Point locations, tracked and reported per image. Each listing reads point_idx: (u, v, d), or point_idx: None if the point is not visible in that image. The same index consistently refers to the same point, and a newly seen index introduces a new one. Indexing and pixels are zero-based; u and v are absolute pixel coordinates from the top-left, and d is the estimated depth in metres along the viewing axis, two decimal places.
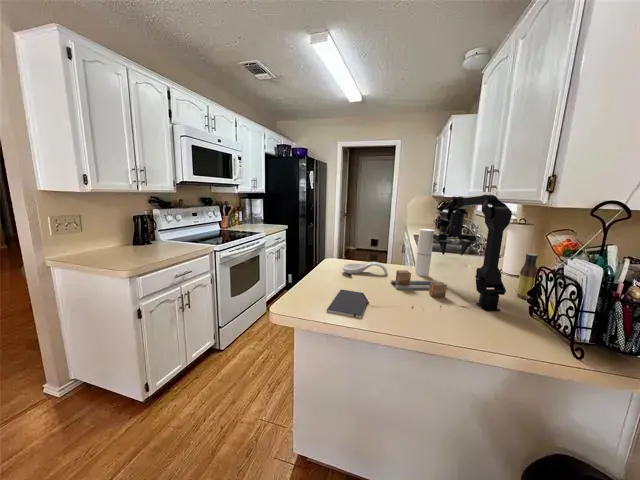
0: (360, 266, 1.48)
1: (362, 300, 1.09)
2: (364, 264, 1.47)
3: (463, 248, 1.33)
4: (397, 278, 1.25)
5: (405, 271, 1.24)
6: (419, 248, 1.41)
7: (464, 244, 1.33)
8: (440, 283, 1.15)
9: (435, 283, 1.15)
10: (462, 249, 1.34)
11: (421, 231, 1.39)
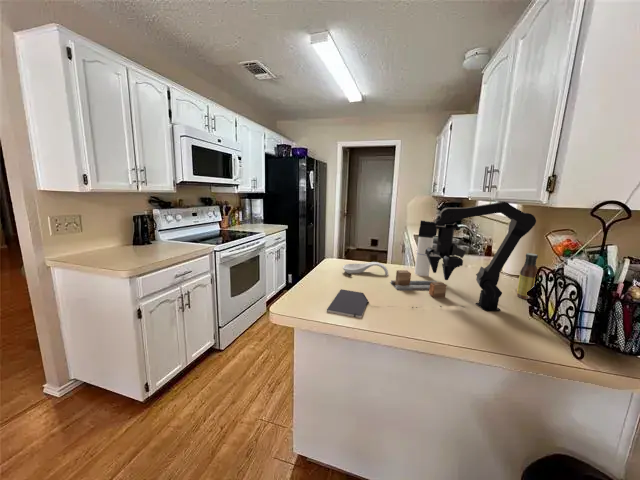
0: (361, 266, 1.48)
1: (362, 300, 1.09)
2: (365, 264, 1.47)
3: None
4: (397, 278, 1.25)
5: (405, 271, 1.24)
6: (419, 248, 1.41)
7: None
8: (440, 283, 1.15)
9: (435, 283, 1.15)
10: None
11: None
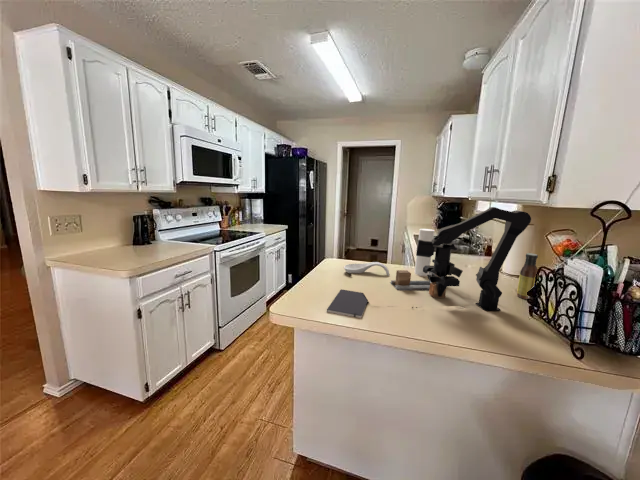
0: (362, 266, 1.48)
1: (362, 300, 1.09)
2: (366, 264, 1.47)
3: None
4: (397, 278, 1.25)
5: (405, 271, 1.24)
6: None
7: None
8: None
9: (435, 283, 1.15)
10: None
11: (421, 231, 1.39)
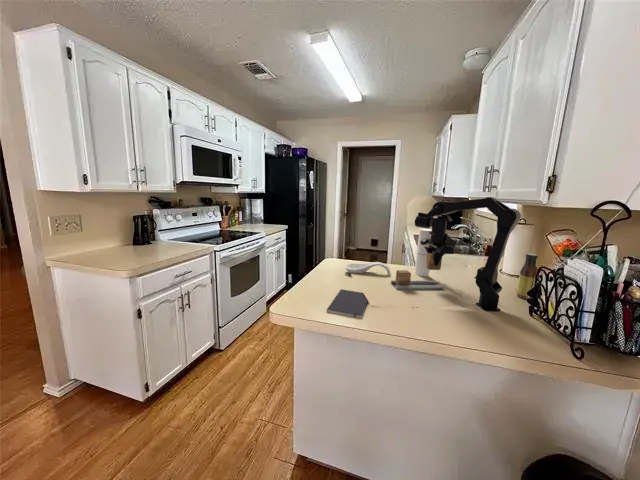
0: (363, 266, 1.48)
1: (362, 300, 1.09)
2: (367, 264, 1.47)
3: None
4: (397, 278, 1.25)
5: (405, 271, 1.24)
6: (419, 248, 1.41)
7: None
8: None
9: (432, 253, 1.23)
10: None
11: (421, 231, 1.39)
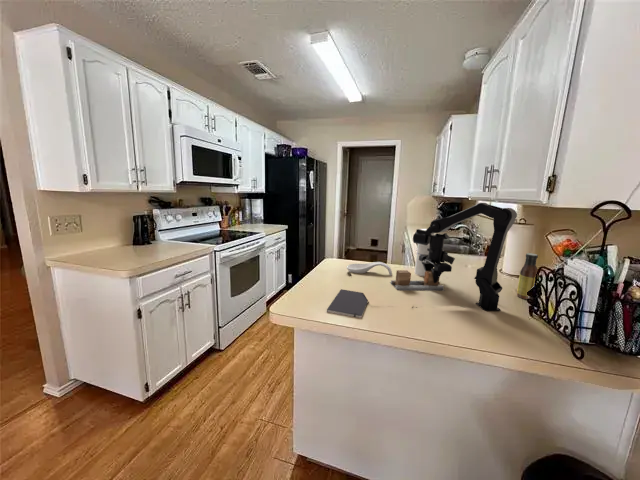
0: (365, 266, 1.49)
1: (362, 300, 1.09)
2: (369, 264, 1.47)
3: None
4: (397, 278, 1.25)
5: (405, 271, 1.24)
6: (419, 248, 1.41)
7: None
8: None
9: (429, 271, 1.25)
10: None
11: None
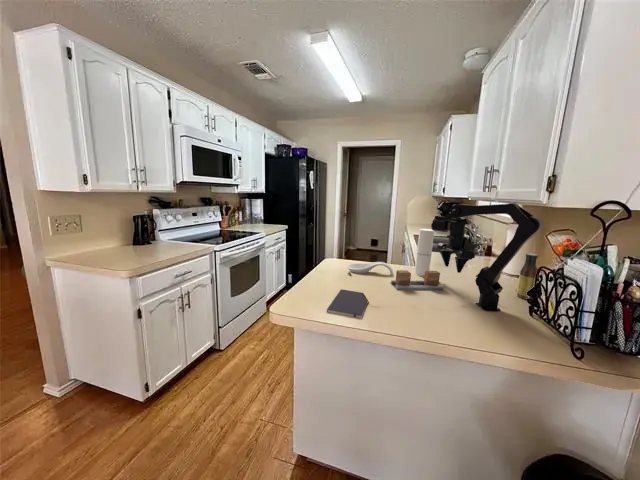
0: (366, 266, 1.49)
1: (362, 300, 1.09)
2: (370, 264, 1.47)
3: None
4: (397, 278, 1.25)
5: (405, 271, 1.24)
6: (419, 248, 1.41)
7: None
8: (434, 271, 1.26)
9: (429, 271, 1.25)
10: None
11: (421, 231, 1.39)
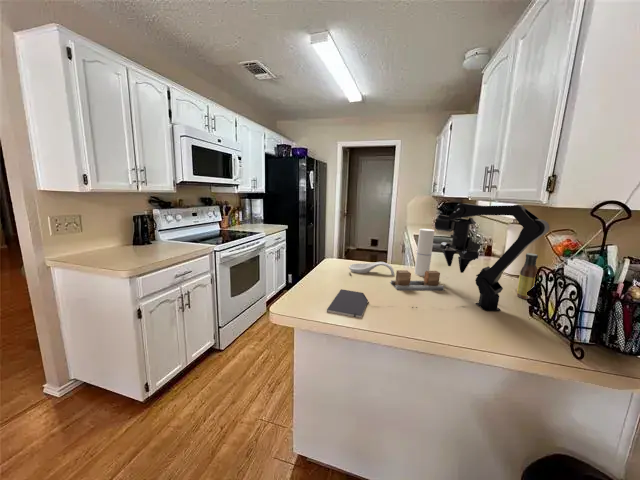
0: (367, 266, 1.49)
1: (362, 300, 1.09)
2: (371, 264, 1.48)
3: None
4: (397, 278, 1.25)
5: (405, 271, 1.24)
6: (419, 248, 1.41)
7: None
8: (434, 271, 1.26)
9: (429, 271, 1.25)
10: None
11: (421, 231, 1.39)
